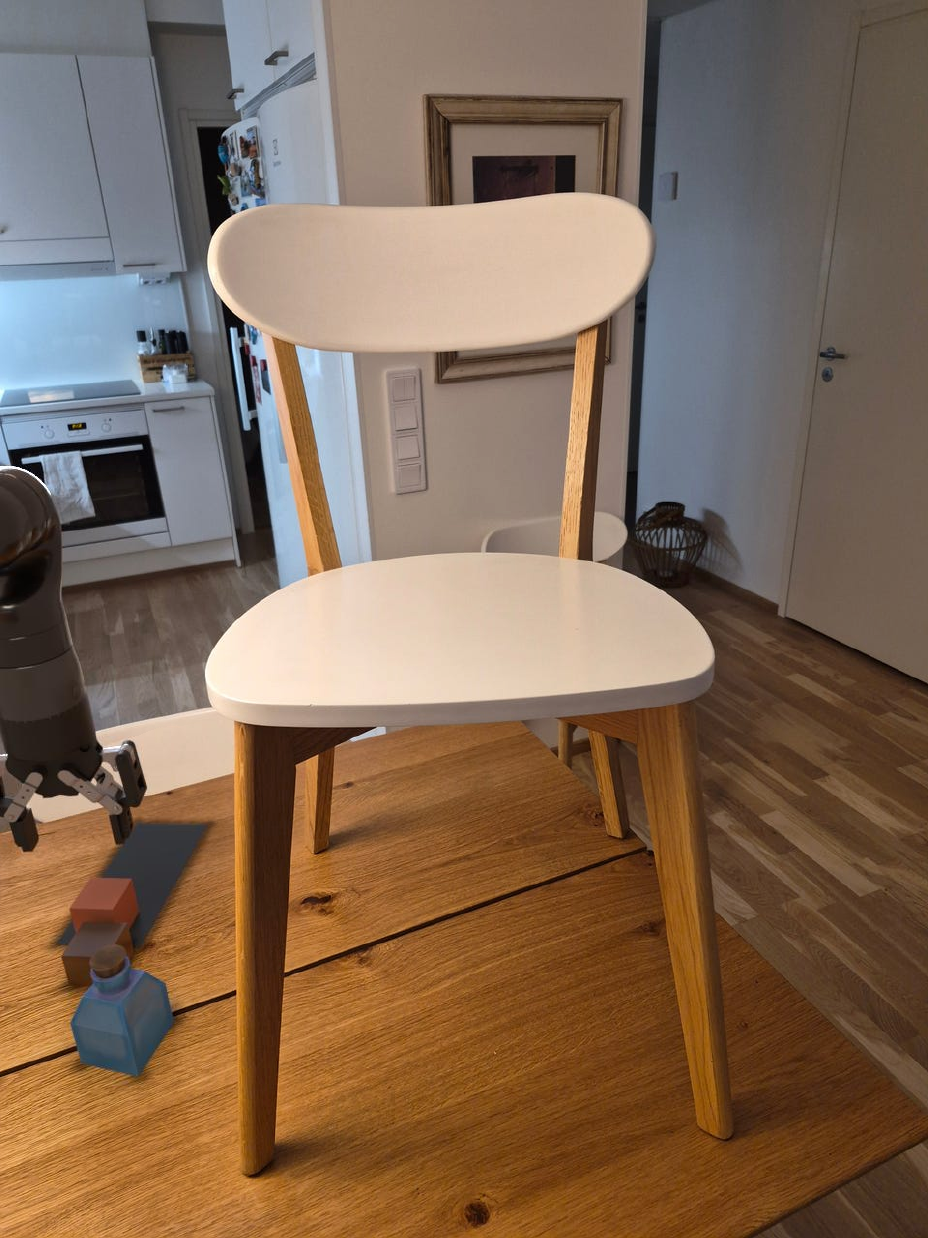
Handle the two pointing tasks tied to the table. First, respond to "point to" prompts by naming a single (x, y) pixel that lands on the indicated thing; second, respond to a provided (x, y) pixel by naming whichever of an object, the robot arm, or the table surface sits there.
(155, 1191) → the table surface
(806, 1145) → the table surface
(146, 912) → the mat
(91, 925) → the walnut block
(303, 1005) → the table surface
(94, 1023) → the perfume bottle
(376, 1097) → the table surface
